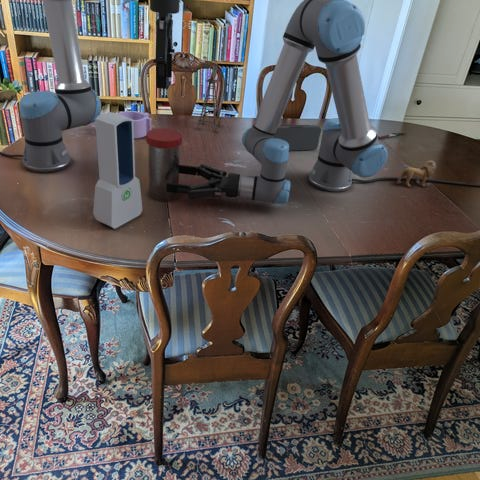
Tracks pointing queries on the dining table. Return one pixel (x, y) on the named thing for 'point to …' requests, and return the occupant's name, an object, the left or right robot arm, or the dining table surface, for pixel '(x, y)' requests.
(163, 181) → the jar
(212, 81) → the dark tall lattice tower
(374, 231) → the dining table surface
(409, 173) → the lion figurine
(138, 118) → the clip
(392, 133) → the sword
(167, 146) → the lid
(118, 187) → the electronic device
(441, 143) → the dining table surface
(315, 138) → the handheld gaming console
